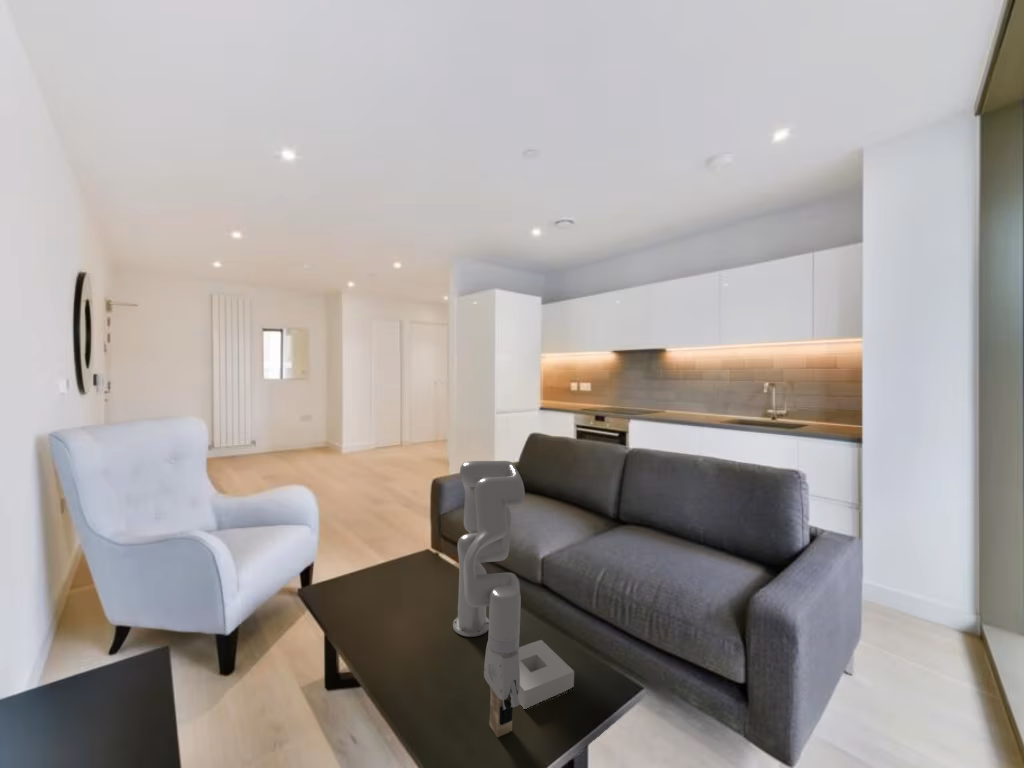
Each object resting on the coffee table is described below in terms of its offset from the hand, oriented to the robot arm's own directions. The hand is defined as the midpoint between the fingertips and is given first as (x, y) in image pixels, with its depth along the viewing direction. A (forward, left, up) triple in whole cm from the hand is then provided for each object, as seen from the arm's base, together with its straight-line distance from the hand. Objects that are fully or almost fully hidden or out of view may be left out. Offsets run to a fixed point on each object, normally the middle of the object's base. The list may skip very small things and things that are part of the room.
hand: (501, 714), depth 104 cm
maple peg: (0, 0, -3) cm, 3 cm away
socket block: (-10, +16, -3) cm, 19 cm away
